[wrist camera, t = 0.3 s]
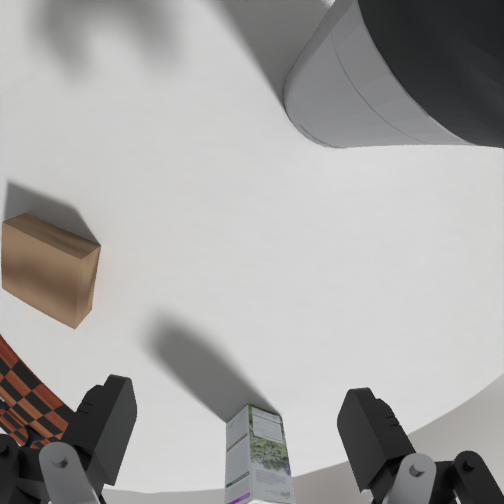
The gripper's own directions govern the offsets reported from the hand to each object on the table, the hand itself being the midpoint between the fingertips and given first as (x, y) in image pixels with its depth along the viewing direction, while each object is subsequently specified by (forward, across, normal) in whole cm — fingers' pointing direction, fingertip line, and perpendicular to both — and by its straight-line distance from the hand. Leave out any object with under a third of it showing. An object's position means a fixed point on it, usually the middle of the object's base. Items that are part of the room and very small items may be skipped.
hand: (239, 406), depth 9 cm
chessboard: (+21, +45, +36) cm, 61 cm away
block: (+19, +20, +2) cm, 28 cm away
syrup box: (+20, -4, +23) cm, 30 cm away
